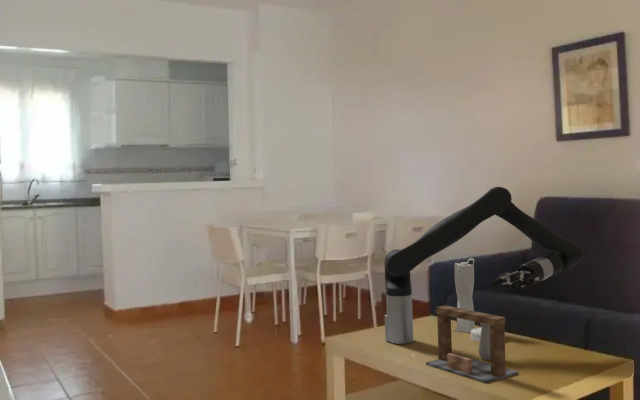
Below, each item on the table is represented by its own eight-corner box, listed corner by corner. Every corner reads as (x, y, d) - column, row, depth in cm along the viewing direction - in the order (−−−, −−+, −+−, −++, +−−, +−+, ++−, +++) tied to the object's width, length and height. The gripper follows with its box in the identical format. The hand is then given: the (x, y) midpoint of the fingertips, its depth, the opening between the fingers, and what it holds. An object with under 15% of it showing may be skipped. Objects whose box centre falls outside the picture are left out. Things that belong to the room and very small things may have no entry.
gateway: (426, 364, 215) (424, 309, 214) (457, 356, 222) (456, 303, 222) (485, 383, 194) (484, 322, 193) (518, 373, 202) (516, 314, 201)
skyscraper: (480, 329, 260) (478, 257, 258) (473, 334, 253) (471, 260, 251) (459, 327, 264) (456, 256, 263) (452, 332, 257) (449, 259, 256)
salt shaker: (497, 360, 216) (496, 320, 215) (478, 360, 217) (477, 320, 217) (496, 355, 222) (495, 316, 221) (478, 355, 223) (477, 316, 222)
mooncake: (465, 341, 243) (465, 331, 243) (477, 334, 253) (477, 324, 253) (498, 344, 236) (498, 334, 236) (509, 337, 246) (509, 327, 246)
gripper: (518, 259, 236) (484, 273, 228) (550, 261, 223) (515, 276, 215) (523, 279, 236) (489, 294, 229) (554, 283, 224) (520, 298, 216)
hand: (502, 285), depth 222 cm, fingers open, 8 cm apart
